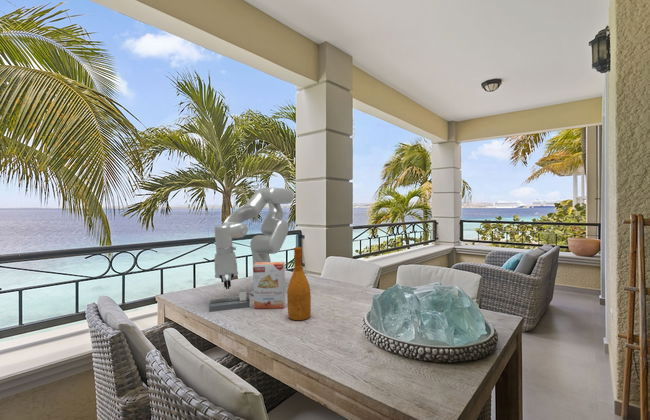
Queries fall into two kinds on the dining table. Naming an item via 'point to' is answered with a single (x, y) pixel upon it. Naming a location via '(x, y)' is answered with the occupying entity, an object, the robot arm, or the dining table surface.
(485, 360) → the dining table surface
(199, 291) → the dining table surface
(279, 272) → the cracker box
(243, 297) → the block
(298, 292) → the wine bottle
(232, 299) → the board
